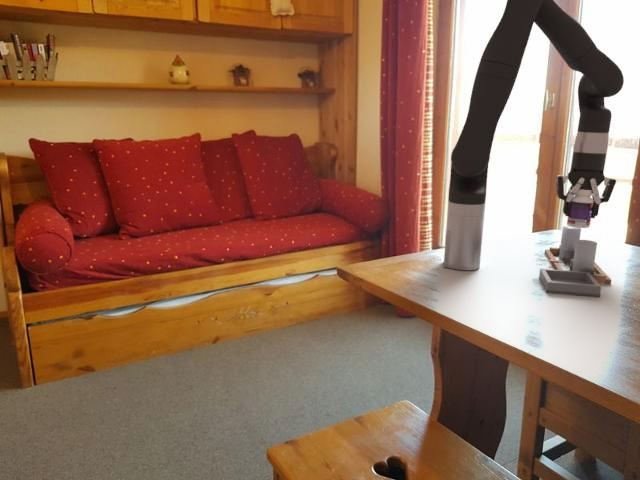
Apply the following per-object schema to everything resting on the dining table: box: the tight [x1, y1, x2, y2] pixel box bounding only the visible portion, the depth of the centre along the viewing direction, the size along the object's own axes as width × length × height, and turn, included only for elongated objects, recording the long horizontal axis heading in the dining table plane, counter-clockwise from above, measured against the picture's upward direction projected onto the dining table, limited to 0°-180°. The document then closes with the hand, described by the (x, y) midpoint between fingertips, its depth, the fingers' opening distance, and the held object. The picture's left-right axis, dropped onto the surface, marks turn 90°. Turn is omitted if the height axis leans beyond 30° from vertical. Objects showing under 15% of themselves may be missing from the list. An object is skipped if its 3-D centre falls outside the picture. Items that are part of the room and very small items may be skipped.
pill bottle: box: [566, 189, 594, 229], centre depth 133 cm, size 5×5×10 cm
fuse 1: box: [558, 225, 582, 261], centre depth 143 cm, size 5×5×9 cm
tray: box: [538, 268, 602, 298], centre depth 120 cm, size 11×11×2 cm
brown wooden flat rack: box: [544, 245, 612, 286], centre depth 136 cm, size 12×26×3 cm, turn 166°
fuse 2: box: [572, 239, 598, 271], centre depth 127 cm, size 5×5×9 cm
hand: (579, 216), depth 133 cm, fingers closed on pill bottle, 5 cm apart
